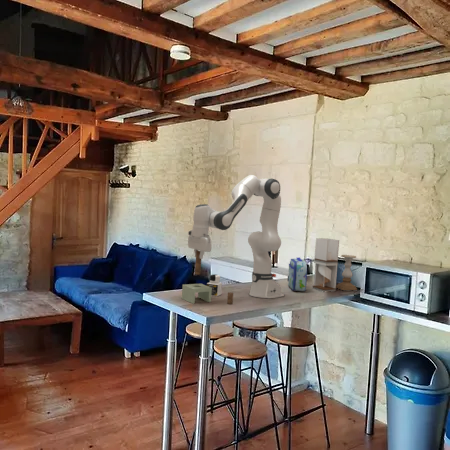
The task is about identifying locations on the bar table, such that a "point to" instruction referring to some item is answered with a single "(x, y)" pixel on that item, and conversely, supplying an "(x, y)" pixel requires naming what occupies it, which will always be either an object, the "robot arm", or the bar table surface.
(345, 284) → the candle holder
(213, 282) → the medicine bottle
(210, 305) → the bar table surface
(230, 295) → the short pin
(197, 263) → the long pin
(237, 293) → the bar table surface
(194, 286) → the bridge
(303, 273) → the lunch box
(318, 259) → the white stand
